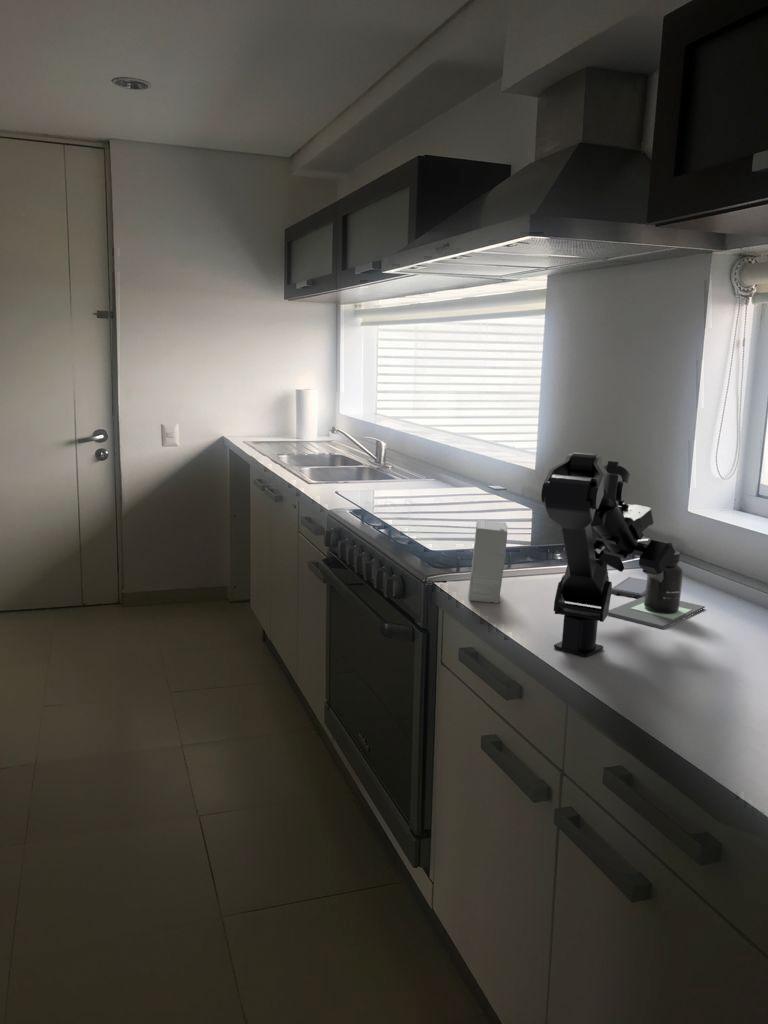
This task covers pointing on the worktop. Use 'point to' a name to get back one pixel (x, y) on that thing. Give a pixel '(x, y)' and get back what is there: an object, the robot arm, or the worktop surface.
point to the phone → (631, 587)
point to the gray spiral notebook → (653, 613)
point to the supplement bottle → (665, 589)
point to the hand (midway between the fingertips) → (641, 575)
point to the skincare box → (488, 561)
